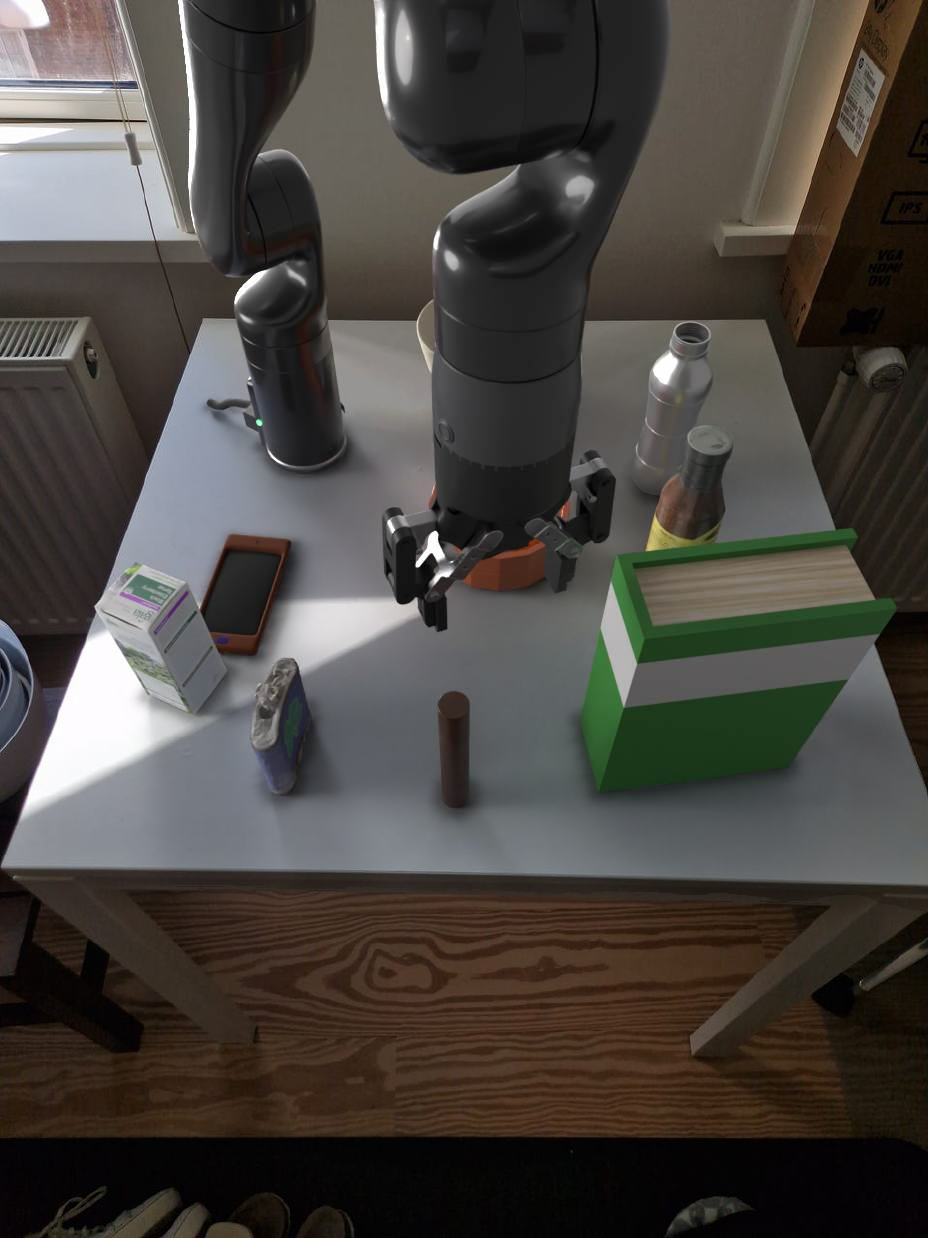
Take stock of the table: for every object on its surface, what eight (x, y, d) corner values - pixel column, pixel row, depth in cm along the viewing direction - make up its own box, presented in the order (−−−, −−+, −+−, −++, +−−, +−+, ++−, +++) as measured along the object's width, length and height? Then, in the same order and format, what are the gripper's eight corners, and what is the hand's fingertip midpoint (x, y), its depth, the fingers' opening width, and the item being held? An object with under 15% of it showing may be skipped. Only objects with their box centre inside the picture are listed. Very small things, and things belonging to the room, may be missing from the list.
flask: (292, 798, 75) (270, 740, 67) (260, 794, 76) (233, 736, 67) (315, 708, 81) (297, 644, 72) (285, 704, 81) (263, 640, 72)
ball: (508, 554, 91) (509, 537, 89) (521, 538, 92) (522, 522, 90) (529, 564, 90) (530, 548, 88) (541, 549, 91) (543, 532, 89)
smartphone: (184, 645, 84) (227, 531, 92) (186, 650, 84) (229, 537, 93) (254, 652, 83) (291, 537, 92) (256, 658, 84) (293, 543, 93)
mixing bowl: (405, 556, 92) (401, 518, 87) (478, 477, 99) (479, 438, 94) (518, 616, 87) (521, 580, 82) (587, 529, 94) (594, 491, 89)
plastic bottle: (619, 493, 97) (650, 345, 81) (635, 455, 101) (668, 306, 85) (675, 509, 96) (717, 361, 80) (689, 469, 100) (732, 320, 83)
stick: (436, 799, 75) (430, 708, 62) (452, 778, 77) (449, 685, 64) (458, 813, 75) (457, 724, 62) (474, 792, 76) (476, 700, 63)
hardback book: (760, 697, 82) (852, 527, 62) (788, 767, 77) (897, 608, 58) (579, 720, 80) (616, 554, 61) (598, 793, 76) (644, 639, 56)
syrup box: (229, 671, 83) (190, 578, 72) (194, 719, 80) (147, 630, 68) (181, 650, 85) (135, 556, 73) (144, 697, 82) (90, 606, 70)
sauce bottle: (696, 615, 87) (748, 474, 71) (634, 605, 88) (672, 463, 72) (698, 566, 91) (748, 422, 75) (640, 557, 92) (677, 413, 76)
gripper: (595, 338, 48) (567, 533, 61) (351, 401, 45) (377, 592, 58) (662, 422, 43) (617, 612, 57) (398, 497, 40) (415, 680, 54)
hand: (496, 602), depth 57 cm, fingers open, 8 cm apart
